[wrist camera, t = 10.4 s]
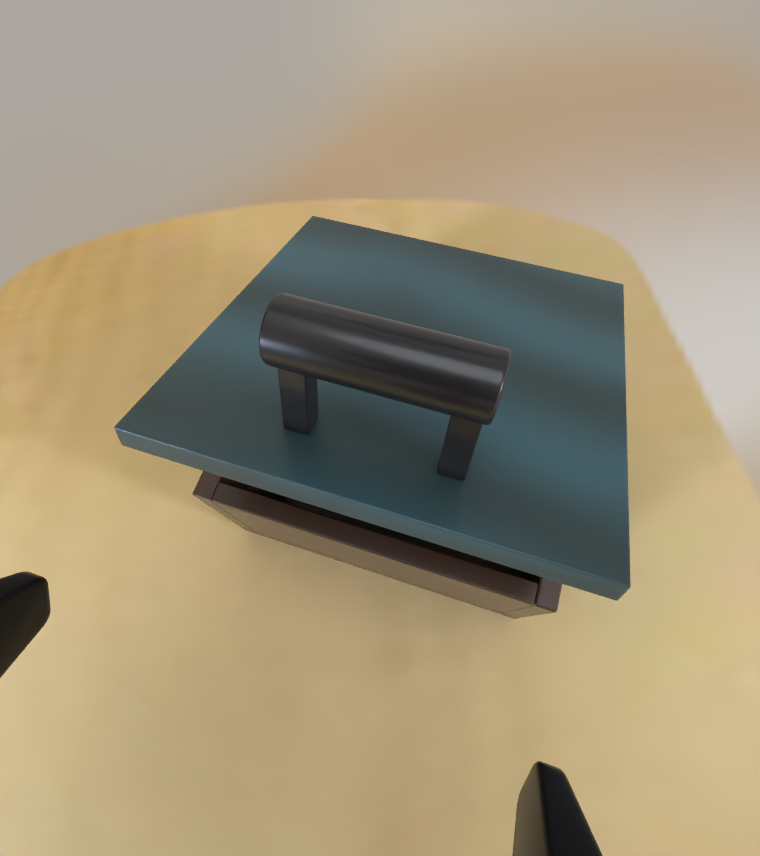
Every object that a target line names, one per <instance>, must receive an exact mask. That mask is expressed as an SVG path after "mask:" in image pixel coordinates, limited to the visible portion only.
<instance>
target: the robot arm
mask: <svg viewBox="0 0 760 856" xmlns="http://www.w3.org/2000/svg"><path fill="white" fill-rule="evenodd" d="M49 615H50V599H49V589H48V582H47V580H46V579H45V578H44V577H41V576H39V575H36V574H33V573H31V572H20V573H16V574H13V575H10V576H7V577H4V578H1V579H0V678H1V676H2V675H3V674H4V673H5V672H6V670H7V669H8V668H9V667H10V666H11V664H12V663H13V662H14V661H15V660H16V658H17V657H18V656H19V655H20V654H21V652H22V651H23V650H24V649H25V648H26V646H27V645H28V644H29V643H30V642H31V640H32V639H33V638H34V637H35V636H36V634H37V633H38V632H39V631H40V630H41V628H42V627H43V626H44V625H45V623H46V622H47V620H48V618H49ZM513 856H602V854H601V852H600V849H599V847H598V845H597V843H596V841H595V838H594V836H593V834H592V832H591V830H590V827H589V825H588V823H587V821H586V819H585V816H584V814H583V812H582V810H581V808H580V806H579V803H578V801H577V799H576V797H575V795H574V792H573V790H572V788H571V786H570V784H569V781H568V779H567V777H566V775H565V774H564V772H563V771H562V770H561V769H559V768H557V767H554V766H551V765H549V764H546V763H543V762H540V761H538V762H536V763H535V764H534V765H533V767H532V769H531V771H530V773H529V775H528V777H527V779H526V781H525V783H524V785H523V787H522V789H521V791H520V794H519V798H518V803H517V812H516V823H515V834H514V845H513Z"/></svg>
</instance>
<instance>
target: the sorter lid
mask: <svg viewBox="0 0 760 856" xmlns="http://www.w3.org/2000/svg"><path fill="white" fill-rule="evenodd" d="M114 429H115V431H116V433H117V435H118V437H119V439H120V442H121V444H122V445H124V446H127V447H130V448H133V449H136V450H139V451H143V452H146V453H149V454H152V455H155V456H158V457H162V458H165V459H168V460H171V461H174V462H178V463H181V464H184V465H187V466H190V467H193V468H197V469H200V470H203V471H206V472H209V473H212V474H216V475H219V476H222V477H225V478H228V479H232V480H235V481H238V482H241V483H244V484H247V485H251V486H254V487H257V488H260V489H263V490H266V491H270V492H273V493H276V494H279V495H282V496H286V497H289V498H292V499H295V500H298V501H301V502H305V503H308V504H311V505H314V506H317V507H320V508H324V509H327V510H330V511H333V512H336V513H340V514H343V515H346V516H349V517H352V518H355V519H359V520H362V521H365V522H368V523H371V524H375V525H378V526H381V527H384V528H387V529H390V530H394V531H397V532H400V533H403V534H406V535H409V536H413V537H416V538H419V539H422V540H425V541H429V542H432V543H435V544H438V545H441V546H444V547H448V548H451V549H454V550H457V551H460V552H463V553H467V554H470V555H473V556H476V557H479V558H483V559H486V560H489V561H492V562H495V563H498V564H502V565H505V566H508V567H511V568H514V569H517V570H521V571H524V572H527V573H530V574H533V575H537V576H540V577H543V578H546V579H549V580H552V581H556V582H559V583H562V584H565V585H568V586H571V587H575V588H578V589H581V590H584V591H587V592H591V593H594V594H597V595H600V596H603V597H606V598H610V599H613V600H618V599H619V598H620V597H621V596H622V595H623V594H624V593H625V592H626V591H627V590H628V589H629V588H630V548H629V506H628V464H627V421H626V379H625V336H624V294H623V284H619V283H614V282H610V281H605V280H601V279H596V278H592V277H587V276H582V275H578V274H573V273H569V272H564V271H560V270H555V269H551V268H546V267H542V266H537V265H533V264H528V263H524V262H519V261H515V260H510V259H506V258H501V257H496V256H492V255H487V254H483V253H478V252H474V251H469V250H465V249H460V248H456V247H451V246H447V245H442V244H438V243H433V242H429V241H424V240H419V239H415V238H410V237H406V236H401V235H397V234H392V233H388V232H383V231H379V230H374V229H370V228H365V227H361V226H356V225H352V224H347V223H342V222H338V221H333V220H329V219H324V218H320V217H315V216H312V217H311V218H310V220H309V221H308V222H307V223H306V224H305V225H304V226H303V227H302V228H301V229H300V230H299V231H298V232H297V233H296V234H295V235H294V237H293V238H292V239H291V240H290V241H289V242H288V243H287V244H286V245H285V246H284V247H283V248H282V249H281V250H280V251H279V252H278V254H277V255H276V256H275V257H274V258H273V259H272V260H271V261H270V262H269V263H268V264H267V265H266V266H265V267H264V268H263V269H262V271H261V272H260V273H259V274H258V275H257V276H256V277H255V278H254V279H253V280H252V281H251V282H250V283H249V284H248V285H247V286H246V288H245V289H244V290H243V291H242V292H241V293H240V294H239V295H238V296H237V297H236V298H235V299H234V300H233V301H232V302H231V303H230V305H229V306H228V307H227V308H226V309H225V310H224V311H223V312H222V313H221V314H220V315H219V316H218V317H217V318H216V319H215V320H214V322H213V323H212V324H211V325H210V326H209V327H208V328H207V329H206V330H205V331H204V332H203V333H202V334H201V335H200V336H199V337H198V339H197V340H196V341H195V342H194V343H193V344H192V345H191V346H190V347H189V348H188V349H187V350H186V351H185V352H184V353H183V354H182V356H181V357H180V358H179V359H178V360H177V361H176V362H175V363H174V364H173V365H172V366H171V367H170V368H169V369H168V370H167V371H166V373H165V374H164V375H163V376H162V377H161V378H160V379H159V380H158V381H157V382H156V383H155V384H154V385H153V386H152V387H151V389H150V390H149V391H148V392H147V393H146V394H145V395H144V396H143V397H142V398H141V399H140V400H139V401H138V402H137V403H136V404H135V406H134V407H133V408H132V409H131V410H130V411H129V412H128V413H127V414H126V415H125V416H124V417H123V418H122V419H121V420H120V421H119V423H118V424H117V425H116V426H115V427H114Z"/></svg>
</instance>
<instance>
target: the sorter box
mask: <svg viewBox="0 0 760 856" xmlns="http://www.w3.org/2000/svg"><path fill="white" fill-rule="evenodd" d="M193 495H194V496H195V497H197V498H198V499H200V500H201V501H203V502H204V503H206V504H207V505H209V506H210V507H212V508H213V509H215V510H216V511H218V512H219V513H221V514H222V515H224V516H225V517H227V518H229V519H230V520H232V521H233V522H235V523H236V524H238V525H239V526H241V527H242V528H244V529H245V530H247V531H250V532H253V533H257V534H260V535H263V536H266V537H269V538H272V539H275V540H278V541H281V542H284V543H287V544H290V545H293V546H296V547H299V548H302V549H305V550H308V551H311V552H314V553H317V554H320V555H323V556H326V557H329V558H332V559H335V560H338V561H341V562H344V563H347V564H350V565H353V566H357V567H360V568H363V569H366V570H369V571H372V572H375V573H378V574H381V575H384V576H387V577H390V578H393V579H396V580H399V581H402V582H405V583H408V584H411V585H414V586H417V587H420V588H423V589H426V590H429V591H432V592H435V593H438V594H441V595H444V596H447V597H450V598H453V599H456V600H460V601H463V602H466V603H469V604H472V605H475V606H478V607H481V608H484V609H487V610H490V611H493V612H496V613H499V614H502V615H505V616H508V617H511V618H514V619H516V618H520V617H527V616H534V615H540V614H547V613H553V612H556V611H557V608H558V603H559V597H560V592H561V587H562V583H559V582H556V581H552V580H549V579H546V578H543V577H540V576H537V575H533V574H530V573H527V572H524V571H521V570H517V569H514V568H511V567H508V566H505V565H502V564H498V563H495V562H492V561H489V560H486V559H483V558H479V557H476V556H473V555H470V554H467V553H463V552H460V551H457V550H454V549H451V548H448V547H444V546H441V545H438V544H435V543H432V542H429V541H425V540H422V539H419V538H416V537H413V536H409V535H406V534H403V533H400V532H397V531H394V530H390V529H387V528H384V527H381V526H378V525H375V524H371V523H368V522H365V521H362V520H359V519H355V518H352V517H349V516H346V515H343V514H340V513H336V512H333V511H330V510H327V509H324V508H320V507H317V506H314V505H311V504H308V503H305V502H301V501H298V500H295V499H292V498H289V497H286V496H282V495H279V494H276V493H273V492H270V491H266V490H263V489H260V488H257V487H254V486H251V485H247V484H244V483H241V482H238V481H235V480H232V479H228V478H225V477H222V476H219V475H216V474H212V473H209V472H206V471H203V473H202V475H201V477H200V479H199V481H198V483H197V486H196V488H195V490H194V492H193Z"/></svg>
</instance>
